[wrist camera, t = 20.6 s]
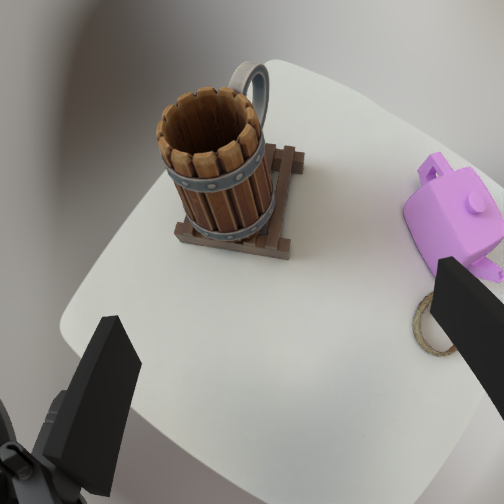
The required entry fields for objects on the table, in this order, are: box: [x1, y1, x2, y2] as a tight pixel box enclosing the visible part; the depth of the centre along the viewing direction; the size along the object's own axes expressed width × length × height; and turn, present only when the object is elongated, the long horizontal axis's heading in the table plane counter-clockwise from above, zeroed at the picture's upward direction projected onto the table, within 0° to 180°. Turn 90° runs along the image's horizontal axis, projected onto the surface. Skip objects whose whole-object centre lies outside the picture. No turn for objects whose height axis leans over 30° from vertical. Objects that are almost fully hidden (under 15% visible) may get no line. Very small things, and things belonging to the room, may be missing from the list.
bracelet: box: [413, 292, 457, 357], centre depth 33 cm, size 9×9×3 cm
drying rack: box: [174, 143, 305, 260], centre depth 40 cm, size 14×14×4 cm
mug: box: [156, 61, 275, 243], centre depth 31 cm, size 16×11×15 cm
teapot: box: [403, 152, 504, 283], centre depth 33 cm, size 18×10×10 cm, turn 20°
